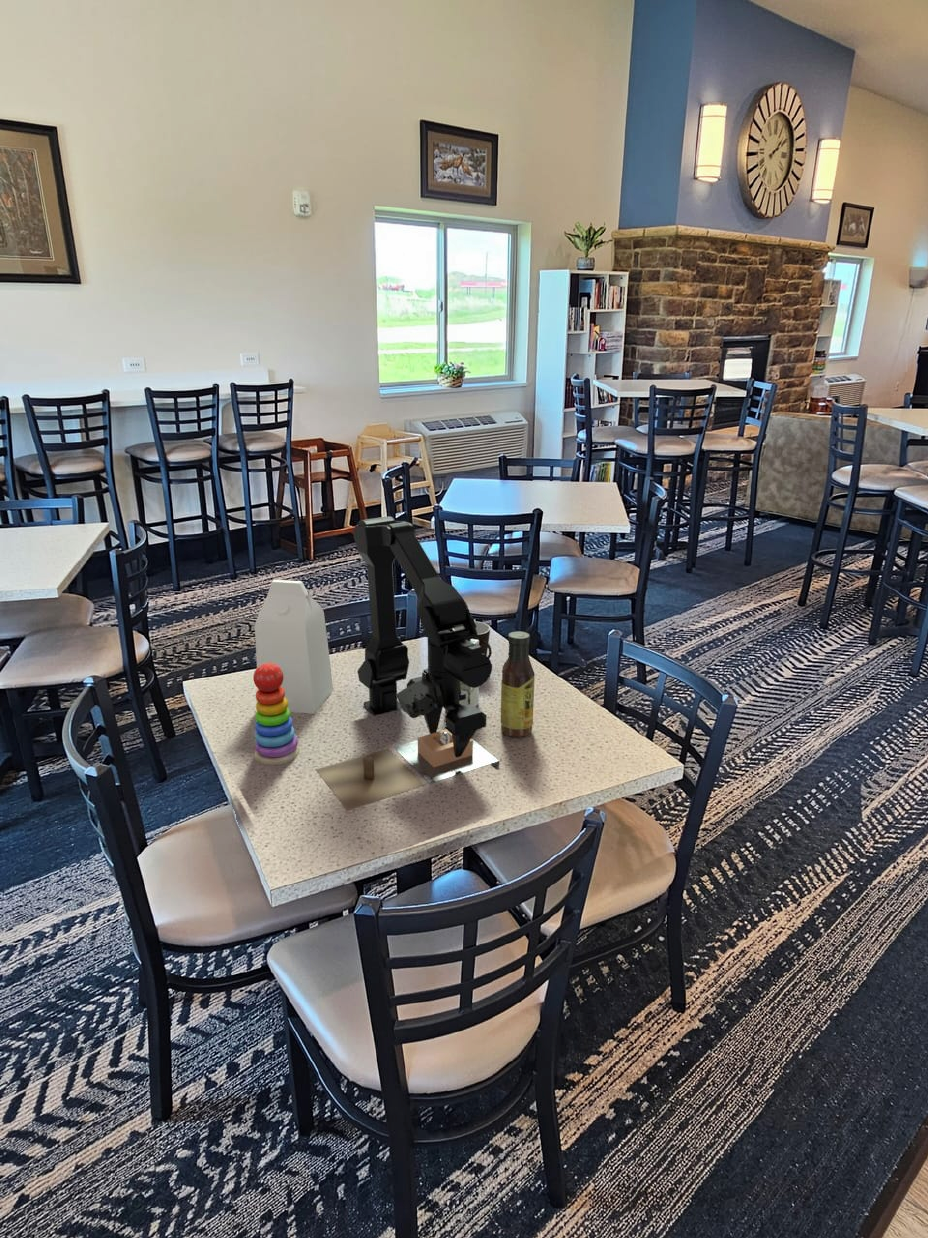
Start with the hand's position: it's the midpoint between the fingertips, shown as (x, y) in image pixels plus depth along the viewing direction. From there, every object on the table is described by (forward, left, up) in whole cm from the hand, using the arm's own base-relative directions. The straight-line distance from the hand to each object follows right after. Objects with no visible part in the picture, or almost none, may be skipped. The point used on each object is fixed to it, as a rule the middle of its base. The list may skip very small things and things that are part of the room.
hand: (445, 745), depth 136 cm
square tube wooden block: (0, 0, -2) cm, 2 cm away
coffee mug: (-30, +24, -3) cm, 39 cm away
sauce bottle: (-2, +17, -3) cm, 17 cm away
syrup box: (-16, +13, -3) cm, 21 cm away
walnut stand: (0, -15, -3) cm, 15 cm away
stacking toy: (-16, -26, -3) cm, 31 cm away
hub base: (0, 0, -3) cm, 3 cm away
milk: (-37, -15, -3) cm, 40 cm away
